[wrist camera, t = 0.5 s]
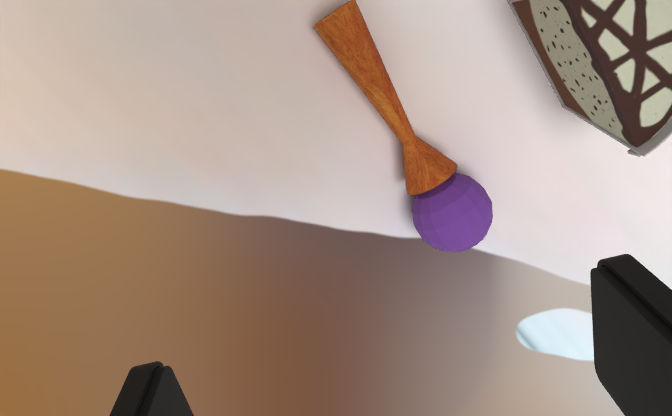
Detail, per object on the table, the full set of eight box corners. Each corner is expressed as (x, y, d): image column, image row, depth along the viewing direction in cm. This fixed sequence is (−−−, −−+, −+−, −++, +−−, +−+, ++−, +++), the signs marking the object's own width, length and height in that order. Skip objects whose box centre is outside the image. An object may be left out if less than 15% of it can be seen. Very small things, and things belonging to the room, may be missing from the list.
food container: (644, 76, 40) (745, 104, 31) (571, 122, 41) (647, 163, 32) (577, -76, 35) (671, -97, 26) (497, -19, 37) (560, -20, 27)
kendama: (381, -21, 33) (520, 232, 38) (360, -6, 38) (484, 212, 44) (301, 32, 33) (452, 277, 38) (293, 40, 38) (425, 252, 44)
